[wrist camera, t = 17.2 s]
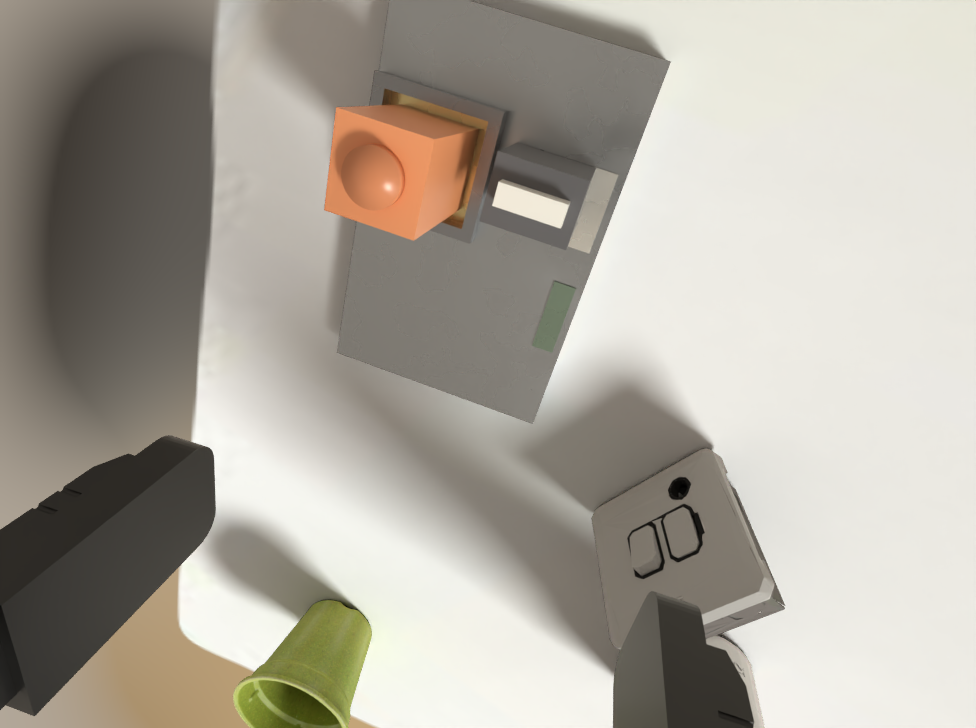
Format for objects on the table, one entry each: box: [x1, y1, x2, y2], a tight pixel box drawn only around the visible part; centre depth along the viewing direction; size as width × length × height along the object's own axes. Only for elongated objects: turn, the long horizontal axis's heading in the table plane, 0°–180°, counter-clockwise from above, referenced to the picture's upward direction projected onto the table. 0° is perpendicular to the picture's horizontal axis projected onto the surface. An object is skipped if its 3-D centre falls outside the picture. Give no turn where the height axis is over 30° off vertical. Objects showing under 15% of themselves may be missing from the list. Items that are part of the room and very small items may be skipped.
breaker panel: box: [337, 0, 671, 424], centre depth 29 cm, size 20×13×3 cm, turn 165°
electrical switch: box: [592, 449, 785, 650], centre depth 32 cm, size 9×5×9 cm, turn 136°
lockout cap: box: [324, 104, 479, 241], centre depth 24 cm, size 4×4×8 cm
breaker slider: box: [480, 142, 596, 250], centre depth 25 cm, size 3×4×5 cm
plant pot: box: [233, 600, 372, 728], centre depth 45 cm, size 9×9×9 cm
